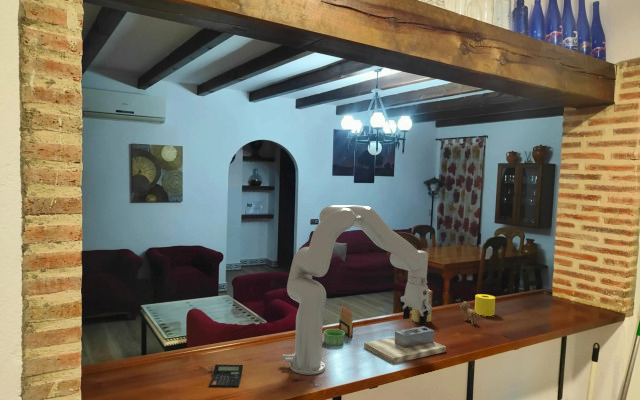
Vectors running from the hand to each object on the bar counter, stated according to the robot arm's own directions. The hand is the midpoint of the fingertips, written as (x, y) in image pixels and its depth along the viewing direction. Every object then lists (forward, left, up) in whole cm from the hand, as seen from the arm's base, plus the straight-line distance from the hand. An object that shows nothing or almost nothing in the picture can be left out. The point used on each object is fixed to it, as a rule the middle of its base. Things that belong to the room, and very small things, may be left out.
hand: (414, 321), depth 185 cm
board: (-4, -3, -11) cm, 12 cm away
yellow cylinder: (+47, +58, -11) cm, 76 cm away
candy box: (+10, +39, -11) cm, 42 cm away
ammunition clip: (-28, +13, -11) cm, 33 cm away
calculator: (-68, -39, -11) cm, 79 cm away
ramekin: (-33, +1, -11) cm, 35 cm away
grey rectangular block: (0, 0, -9) cm, 9 cm away
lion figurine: (+35, +42, -11) cm, 56 cm away
